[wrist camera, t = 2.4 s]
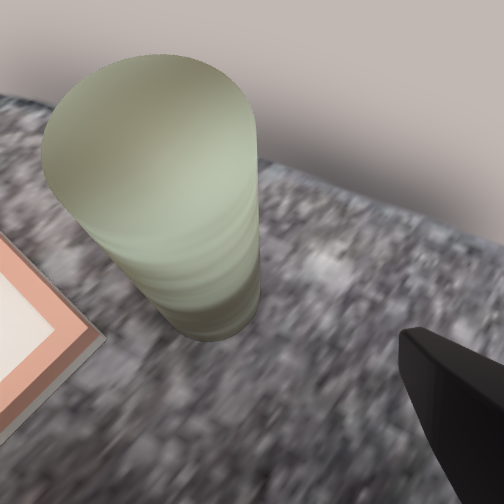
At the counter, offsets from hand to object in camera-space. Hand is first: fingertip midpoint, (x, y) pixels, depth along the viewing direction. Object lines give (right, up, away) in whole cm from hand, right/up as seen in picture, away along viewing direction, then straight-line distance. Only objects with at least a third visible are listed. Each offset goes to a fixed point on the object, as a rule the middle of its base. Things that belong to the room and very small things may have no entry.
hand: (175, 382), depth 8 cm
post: (-1, +1, +13) cm, 13 cm away
